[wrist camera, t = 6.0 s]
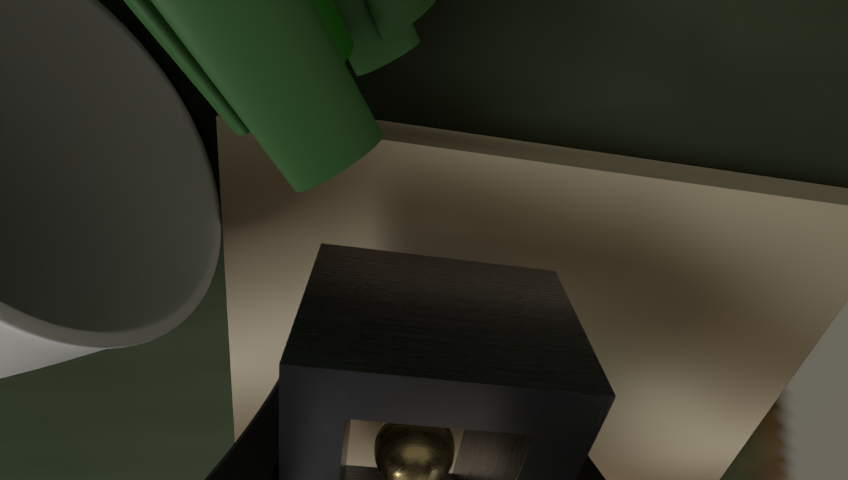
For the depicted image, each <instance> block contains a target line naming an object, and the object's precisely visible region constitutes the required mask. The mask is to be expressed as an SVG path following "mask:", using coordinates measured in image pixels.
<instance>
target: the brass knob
mask: <svg viewBox="0 0 848 480" xmlns="http://www.w3.org/2000/svg"><path fill="white" fill-rule="evenodd" d="M454 455H455V444H454V438H453V435H452V432H451V429H450V428H443V427H431V426H420V425H408V424H397V423H385V422H380V428H379V430H378V432H377V435H376V438H375V443H374V456H375V462H376V465H377V468H378V470H379V472H380V474H381V476H382V477H383V478H384V480H444V479H445V478H446V476H447V475H448V473H449V471H450V469H451V467H452V464H453V461H454Z"/></svg>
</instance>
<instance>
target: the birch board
mask: <svg viewBox="0 0 848 480" xmlns="http://www.w3.org/2000/svg"><path fill="white" fill-rule="evenodd" d="M376 122H377V124H378V126H379V128H380V130H381V132H382V133H383V138H382V140H381V141H380V142H379V143H378V144H377V145H376V146H375V147H374V148H373V149H372V150H371V151H370V152H369V153H367V154H366V155H365V156H364V157H362V158H361V159H360V160H358V161H357V162H355V163H354V164H353V165H351V166H350V167H348V168H347V169H345V170H344V171H342V172H340V173H339V174H337V175H336V176H334V177H332V178H330V179H329V180H327V181H325V182H323V183H321V184H319V185H317V186H315V187H313V188H311V189H308V190H306V191H302V192H296V191H295V190H294V189H293V187H292V186H291V185H290V183H289V182H288V181H287V179H286V178H285V177H284V175H283V174H282V173H281V171H280V170H279V169H278V167H277V166H276V165H275V163H274V162H273V161H272V160H271V158H270V157H269V156H268V154H267V153H266V152H265V150H264V149H263V148H262V146H261V145H260V144H259V142H258V141H257V140H256V138H255V137H254V136H253V134H252V133H251V132H250V133H248V134H246V135H244V136H240V135H237V134H235V133H234V132H233V130H232V129H231V128H230V127H229V126H228V124H227V123H226V122H225V121H224V120H223V118H222V117H221V116H220V115H219V114H218V115H217V116H216V125H217V142H218V159H219V176H220V193H221V210H222V227H223V244H224V262H225V279H226V296H227V313H228V330H229V347H230V364H231V381H232V398H233V415H234V432H235V442H236V440H237V439H238V438H239V436H240V435H241V434H242V432H243V431H244V430H245V428H246V427H247V426H248V425H249V423H250V422H251V420H252V419H253V417H254V416H255V415H256V413H257V412H258V410H259V409H260V407H261V406H262V404H263V403H264V401H265V400H266V398H267V397H268V395H269V394H270V392H271V390H272V389H273V387H274V386H275V384H276V382H277V380H278V379H279V363H280V360H281V357H282V354H283V351H284V349H285V346H286V343H287V340H288V337H289V334H290V331H291V328H292V326H293V323H294V320H295V317H296V314H297V311H298V308H299V306H300V303H301V300H302V297H303V294H304V291H305V288H306V285H307V283H308V280H309V277H310V274H311V271H312V268H313V265H314V262H315V260H316V257H317V254H318V251H319V248H320V245H321V243H324V244H333V245H341V246H350V247H358V248H366V249H375V250H383V251H392V252H400V253H408V254H417V255H425V256H434V257H442V258H450V259H459V260H467V261H476V262H484V263H492V264H501V265H509V266H518V267H526V268H534V269H543V270H551V271H556V273H557V275H558V277H559V280H560V282H561V284H562V286H563V288H564V290H565V292H566V294H567V296H568V298H569V300H570V302H571V304H572V306H573V309H574V311H575V313H576V315H577V317H578V319H579V321H580V323H581V325H582V327H583V329H584V331H585V333H586V335H587V337H588V340H589V342H590V344H591V346H592V348H593V350H594V352H595V354H596V356H597V358H598V360H599V362H600V364H601V366H602V369H603V371H604V373H605V375H606V377H607V379H608V381H609V383H610V385H611V387H612V389H613V391H614V393H615V395H616V398H615V400H614V402H613V404H612V406H611V408H610V410H609V412H608V414H607V416H606V419H605V421H604V423H603V425H602V427H601V429H600V431H599V433H598V435H597V437H596V439H595V441H594V444H593V446H592V448H591V450H590V452H589V454H588V456H589V457H590V458H591V460H592V461H593V463H594V464H595V465H596V467H597V468H598V469H599V471H600V472H601V474H602V475H603V476H604V478H605V479H606V480H720V478H721V477H722V475H723V474H724V473H725V471H726V470H727V468H728V467H729V466H730V464H731V463H732V461H733V460H734V459H735V457H736V456H737V454H738V453H739V452H740V450H741V449H742V447H743V446H744V445H745V443H746V442H747V440H748V439H749V437H750V436H751V435H752V433H753V432H754V430H755V429H756V428H757V426H758V425H759V423H760V422H761V421H762V419H763V418H764V416H765V415H766V414H767V412H768V411H769V409H770V408H771V407H772V405H773V404H774V402H775V401H776V400H777V398H778V397H779V395H780V394H781V393H782V391H783V390H784V388H785V387H786V386H787V384H788V383H789V381H790V380H791V379H792V377H793V376H794V374H795V373H796V372H797V370H798V369H799V367H800V366H801V364H802V363H803V362H804V360H805V358H806V357H807V356H808V355H809V353H810V352H811V350H812V349H813V348H814V346H815V345H816V343H817V342H818V341H819V339H820V338H821V336H822V335H823V334H824V332H825V331H826V329H827V328H828V326H829V325H830V324H831V322H832V321H833V320H834V318H835V317H836V315H837V314H838V313H839V311H840V310H841V308H842V307H843V306H844V304H845V303H846V301H847V300H848V188H842V187H835V186H829V185H822V184H815V183H808V182H801V181H794V180H787V179H780V178H774V177H767V176H760V175H753V174H746V173H739V172H732V171H725V170H719V169H712V168H705V167H698V166H691V165H684V164H677V163H670V162H664V161H657V160H650V159H643V158H636V157H629V156H622V155H615V154H609V153H602V152H595V151H588V150H581V149H574V148H567V147H561V146H554V145H547V144H540V143H533V142H526V141H519V140H512V139H506V138H499V137H492V136H485V135H478V134H471V133H464V132H457V131H451V130H444V129H437V128H430V127H423V126H416V125H409V124H402V123H396V122H389V121H382V120H376ZM379 428H380V422H374V421H362V420H351V425H350V434H349V443H348V453H347V462H346V465H353V466H366V467H377V465H376V462H375V456H374V443H375V438H376V435H377V432H378V430H379ZM450 429H451V432H452V435H453V438H454V444H455V455H454V461H453V464H452V467H451V469H450V471H449V473H453V469H454V465H455V462H456V458H457V455H458V451H459V447H460V444H461V440H462V437H463V433H464V429H454V428H450Z"/></svg>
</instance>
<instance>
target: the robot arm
mask: <svg viewBox="0 0 848 480" xmlns="http://www.w3.org/2000/svg"><path fill="white" fill-rule="evenodd" d="M205 480H279V379H278V380H277V382H276V384H275V386H274V387H273V389H272V390H271V392H270V394H269V395H268V397H267V398H266V400H265V401H264V403H263V404H262V406H261V407H260V409H259V410H258V412H257V413H256V415H255V416H254V417H253V419H252V420H251V422H250V423H249V425H248V426H247V427H246V428H245V430H244V431H243V432H242V434H241V435H240V436H239V438H238V439H237V440H236V442H235V443H234V444H233V446H232V447H231V448H230V450H229V451H228V452H227V453H226V455H225V456H224V457H223V458H222V460H221V461H220V462H219V463H218V464H217V466H216V467H215V468H214V469H213V470H212V472H211V473H210V474H209V475H208V476H207V477H206V479H205ZM576 480H606V479H605V478H604V476H603V475H602V474H601V472H600V471H599V469H598V468H597V467H596V465H595V464H594V463H593V461H592V460H591V458H590V457H589V456H587V458H586V460H585V462H584V464H583V466H582V469H581V471H580V473H579V475H578V477H577V479H576Z"/></svg>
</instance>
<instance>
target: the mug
mask: <svg viewBox="0 0 848 480" xmlns="http://www.w3.org/2000/svg"><path fill="white" fill-rule="evenodd" d="M220 243H221V213H220V203H219V197H218V191H217V186H216V182H215V178H214V174H213V170H212V167H211V164H210V161H209V157H208V155H207V152H206V149H205V147H204V144H203V142H202V139H201V137H200V134H199V132H198V130H197V128H196V126H195V124H194V122H193V120H192V118H191V116H190V114H189V112H188V110H187V108H186V106H185V105H184V103H183V101H182V99H181V98H180V96H179V94H178V93H177V91H176V90H175V88H174V86H173V85H172V83H171V82H170V80H169V79H168V78H167V76H166V75H165V73H164V72H163V70H162V69H161V68H160V66H159V65H158V64H157V62H156V61H155V60H154V58H153V57H152V56H151V55H150V53H149V52H148V51H147V50H146V49H145V47H144V46H143V45H142V44H141V43H140V42H139V40H138V39H137V38H136V37H135V36H134V35H133V34H132V33H131V32H130V31H129V29H128V28H127V27H126V26H125V25H124V24H123V23H122V22H121V21H120V20H119V19H118V18H117V17H116V16H115V15H114V14H113V13H111V12H110V11H109V10H108V9H107V8H106V7H105V6H104V5H103V4H102V3H100V2H99V1H98V0H0V378H4V377H8V376H12V375H16V374H19V373H23V372H27V371H31V370H35V369H38V368H42V367H46V366H49V365H53V364H57V363H60V362H64V361H67V360H71V359H74V358H77V357H81V356H84V355H87V354H91V353H94V352H97V351H101V350H104V349H109V348H122V347H129V346H134V345H138V344H142V343H146V342H149V341H151V340H154V339H156V338H158V337H161V336H162V335H164V334H166V333H168V332H169V331H171V330H173V329H174V328H175V327H177V326H178V325H179V324H180V323H182V322H183V321H184V320H185V319H186V318H187V317H188V316H189V315H190V314H191V313H192V312H193V311H194V310H195V308H196V307H197V306H198V304H199V303H200V302H201V300H202V299H203V297H204V295H205V293H206V291H207V290H208V288H209V285H210V283H211V281H212V278H213V275H214V272H215V269H216V266H217V262H218V257H219V251H220Z"/></svg>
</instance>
